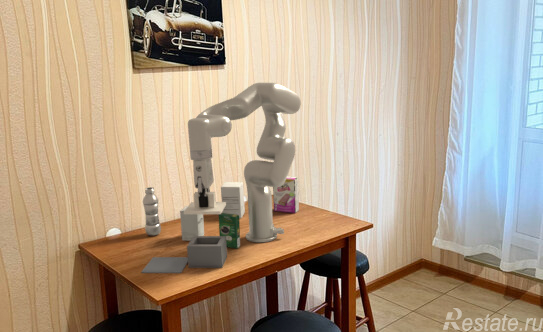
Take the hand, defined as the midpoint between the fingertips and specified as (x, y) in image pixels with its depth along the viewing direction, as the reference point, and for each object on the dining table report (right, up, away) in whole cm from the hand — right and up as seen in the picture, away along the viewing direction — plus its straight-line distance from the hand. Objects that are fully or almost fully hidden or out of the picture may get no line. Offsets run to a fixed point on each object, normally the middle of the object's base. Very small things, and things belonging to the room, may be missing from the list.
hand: (205, 205), depth 180 cm
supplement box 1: (-9, -16, +30) cm, 35 cm away
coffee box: (+7, -18, +18) cm, 27 cm away
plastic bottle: (-26, -15, +35) cm, 47 cm away
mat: (-14, -22, +3) cm, 26 cm away
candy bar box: (+30, -8, +60) cm, 68 cm away
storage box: (+1, -21, +4) cm, 21 cm away
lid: (0, -2, 0) cm, 2 cm away
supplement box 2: (+6, -9, +57) cm, 58 cm away
